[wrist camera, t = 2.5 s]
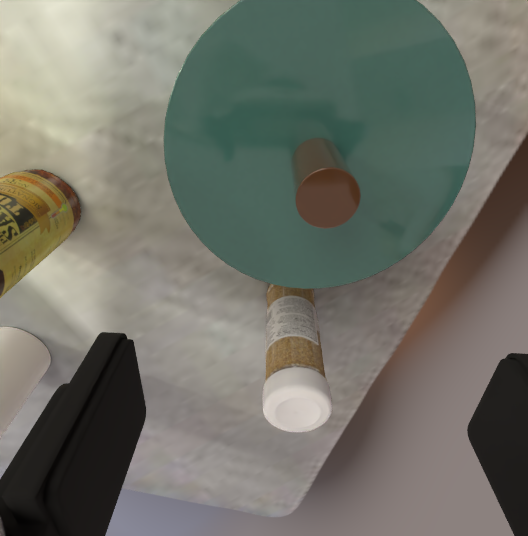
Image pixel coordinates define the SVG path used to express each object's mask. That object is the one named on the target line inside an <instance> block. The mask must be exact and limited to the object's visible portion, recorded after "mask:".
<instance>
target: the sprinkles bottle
mask: <svg viewBox="0 0 528 536" xmlns="http://www.w3.org/2000/svg"><path fill="white" fill-rule="evenodd" d="M266 297H267V302H268V310H267V315H266V352H265V358H266V381H265V384H264V387H263V412H264V415H265V417H266V419H267V420H268V421H269V422H270V423H271V424H272V425H273V426H275V427H277V428H279V429H281V430H284V431H288V432H306V431H310V430H313V429H316V428H318V427H320V426H321V425H323V424H324V423H325V422H326V421H327V420H328V418H329V417H330V415H331V412H332V400H331V393H330V387H329V384H328V382H327V380H326V378H325V372H324V365H323V357H322V349H321V343H320V331H319V326H318V319H317V313H316V309H315V305H314V291H313V289H302V288H289V287H284V286H279V285H273V284H270V286H269V288H268V291H267V295H266Z"/></svg>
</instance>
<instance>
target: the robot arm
mask: <svg viewBox="0 0 528 536" xmlns="http://www.w3.org/2000/svg"><path fill="white" fill-rule="evenodd" d="M145 417H146V406H145V400H144V395H143V389H142V384H141V379H140V373H139V368H138V363H137V357H136V352H135V346H134V342H133V340H130V339H127V336H126V335H125V334H124V333H106V332H102V333H100V334H99V335H98V337H97V338H96V340H95V342H94V343H93V345H92V347H91V348H90V350H89V352H88V353H87V355H86V357H85V358H84V360H83V362H82V363H81V365H80V367H79V368H78V370H77V372H76V373H75V375H74V377H73V378H72V380H71V382H70V383H69V384H63V385H61V386H60V387H59V388H58V389H57V390H56V392H55V393H54V395H53V396H52V398H51V399H50V401H49V403H48V404H47V406H46V407H45V409H44V411H43V412H42V414H41V415H40V417H39V418H38V420H37V422H36V423H35V425H34V426H33V428H32V430H31V431H30V433H29V434H28V436H27V438H26V439H25V441H24V442H23V444H22V446H21V447H20V449H19V450H18V452H17V454H16V455H15V457H14V458H13V460H12V462H11V463H10V465H9V466H8V468H7V469H6V471H5V473H4V474H3V476H2V477H1V479H0V536H105V534H106V532H107V529H108V525H109V523H110V520H111V517H112V514H113V511H114V509H115V506H116V503H117V500H118V496H119V494H120V491H121V488H122V485H123V483H124V480H125V477H126V474H127V471H128V468H129V465H130V462H131V460H132V457H133V454H134V451H135V448H136V445H137V442H138V439H139V437H140V434H141V431H142V428H143V425H144V422H145ZM467 431H468V437H469V440H470V442H471V445H472V447H473V449H474V451H475V453H476V455H477V457H478V459H479V462H480V464H481V466H482V468H483V470H484V472H485V474H486V476H487V478H488V481H489V482H490V485H491V487H492V489H493V491H494V493H495V495H496V497H497V500H498V502H499V504H500V506H501V508H502V510H503V512H504V514H505V517H506V519H507V521H508V523H509V525H510V527H511V529H512V531H513V534H514V536H528V354H517V353H511V354H509V355H507V357H506V358H505V359H502V360H501V361H500V362H499V364H498V366H497V368H496V370H495V372H494V374H493V376H492V378H491V380H490V382H489V384H488V386H487V388H486V390H485V392H484V394H483V396H482V398H481V400H480V403H479V404H478V407H477V408H476V410H475V412H474V414H473V417H472V419H471V421H470V423H469V425H468V430H467Z"/></svg>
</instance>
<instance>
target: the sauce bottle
mask: <svg viewBox="0 0 528 536" xmlns="http://www.w3.org/2000/svg"><path fill="white" fill-rule="evenodd" d="M80 213H81V209H80V204H79V200H78V198H77V196H76V195H75V193H74V192H73V190H72V189H71V187H69V186H68V185H67V184H66V183H65V182H64V181H63V180H61V179H60V178H58V177H57V176H55V175H53V174H52V173H48V172H46V171H44V170H25V171H21V172H14V173H11V174H8V175H6V176H4V177H2V178H0V298H1V297H2V296H3V295H4V294H5V293H6V292H7V291H8V290H10V289H11V288H12V287H13V286H14V285H15V284H16V283H17V282H19V281H20V280H21V279H22V278H23V277H24V276H25V275H26V274H27V273H29V272H30V271H31V270H32V269H33V268H34V267H35V266H37V265H38V264H39V263H40V262H41V261H42V260H43V259H44V258H46V257H47V256H48V255H49V254H50V253H51V252H52V251H54V250H55V249H56V248H57V247H58V246H59V245H60V244H61V243H62V242H63V241H65V240H66V239H67V238H68V236H69V235H70V234H71V233H72V232H73V231H74V230H75V228H76V226H77V224H78V222H79V220H80V217H81V215H80Z"/></svg>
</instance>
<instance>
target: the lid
mask: <svg viewBox="0 0 528 536" xmlns="http://www.w3.org/2000/svg"><path fill="white" fill-rule="evenodd" d="M475 128H476V119H475V101H474V95H473V89H472V84H471V80H470V77H469V74H468V71H467V68H466V65H465V62H464V59H463V57H462V56H461V54H460V52H459V50H458V48H457V46H456V44H455V42H454V40H453V39H452V37H451V36H450V35H449V33H448V32H447V30H446V29H445V28H444V26H443V25H442V24H441V22H440V21H439V20H438V19H437V18H436V17H435V16H434V15H433V14H432V13H431V12H430V11H429V10H428V9H427V8H426V7H425V6H424V5H422V4H421V3H419V2H418V1H416V0H240V1H238V2H237V3H236V4H234V5H233V6H232V7H231V8H229V9H228V10H227V11H226V12H224V13H223V14H222V15H221V16H220V17H218V18H217V19H216V21H215V22H214V23H213V24H212V25H211V26H210V27H209V28H208V29H207V30H206V31H205V32H204V33H203V34H202V36H201V37H200V38H199V40H198V41H197V43H196V44H195V46H194V47H193V48H192V50H191V51H190V53H189V54H188V56H187V58H186V60H185V62H184V64H183V66H182V68H181V69H180V71H179V73H178V75H177V78H176V81H175V84H174V86H173V89H172V92H171V95H170V98H169V103H168V108H167V112H166V117H165V128H164V156H165V164H166V169H167V175H168V180H169V183H170V186H171V189H172V192H173V195H174V198H175V200H176V202H177V205H178V207H179V209H180V211H181V213H182V215H183V217H184V218H185V220H186V221H187V223H188V225H189V226H190V228H191V229H192V231H193V232H194V233H195V234H196V235H197V237H198V238H199V239H200V240H201V242H202V243H203V244H204V245H205V246H206V247H207V248H208V249H209V250H210V251H212V252H213V253H214V254H215V255H216V256H217V257H219V258H220V259H221V260H223V261H224V262H225V263H227V264H228V265H230V266H231V267H233V268H235V269H236V270H238V271H240V272H241V273H244V274H246V275H248V276H250V277H253V278H255V279H257V280H260V281H264V282H267V283H270V284H273V285H279V286H284V287H289V288H302V289H315V288H328V287H335V286H341V285H345V284H349V283H353V282H356V281H359V280H362V279H365V278H367V277H370V276H372V275H375V274H377V273H379V272H381V271H383V270H385V269H387V268H389V267H390V266H392V265H393V264H395V263H397V262H398V261H400V260H401V259H403V258H404V257H405V256H407V255H408V254H409V253H411V252H412V251H413V250H414V249H416V248H417V247H418V246H419V245H420V244H421V243H422V242H423V241H424V240H425V239H426V238H427V237H428V236H429V235H430V234H431V233H432V232H433V231H434V229H435V228H436V227H437V226H438V225H439V223H440V222H441V221H442V220H443V218H444V217H445V215H446V214H447V212H448V211H449V209H450V208H451V206H452V205H453V203H454V201H455V199H456V197H457V195H458V193H459V191H460V189H461V187H462V184H463V182H464V179H465V176H466V174H467V171H468V168H469V164H470V160H471V156H472V152H473V147H474V138H475Z"/></svg>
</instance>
